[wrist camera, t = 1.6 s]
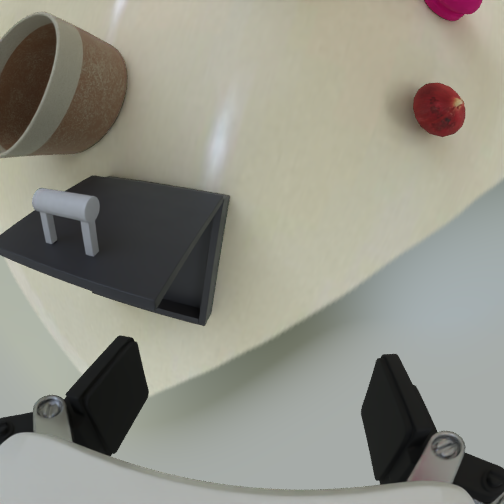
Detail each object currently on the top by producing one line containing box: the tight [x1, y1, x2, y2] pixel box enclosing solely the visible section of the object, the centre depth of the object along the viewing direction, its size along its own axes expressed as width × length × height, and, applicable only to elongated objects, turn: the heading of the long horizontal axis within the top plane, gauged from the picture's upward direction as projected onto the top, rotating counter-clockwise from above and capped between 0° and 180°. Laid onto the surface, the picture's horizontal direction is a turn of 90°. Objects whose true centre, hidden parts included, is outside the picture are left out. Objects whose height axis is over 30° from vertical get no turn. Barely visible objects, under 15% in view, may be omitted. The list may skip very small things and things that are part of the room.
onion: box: [413, 83, 465, 137], centre depth 22 cm, size 6×6×8 cm
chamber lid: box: [0, 176, 223, 311], centre depth 21 cm, size 16×16×5 cm
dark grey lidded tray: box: [92, 177, 230, 326], centre depth 33 cm, size 15×16×3 cm
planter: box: [0, 12, 127, 158], centre depth 23 cm, size 16×16×14 cm
